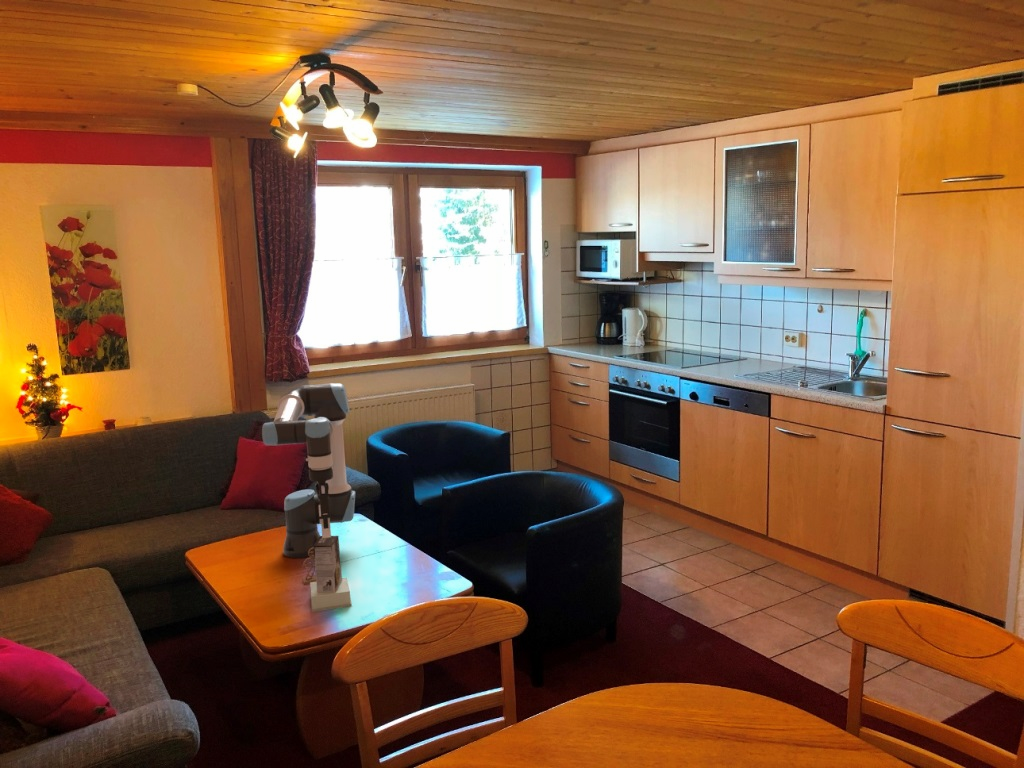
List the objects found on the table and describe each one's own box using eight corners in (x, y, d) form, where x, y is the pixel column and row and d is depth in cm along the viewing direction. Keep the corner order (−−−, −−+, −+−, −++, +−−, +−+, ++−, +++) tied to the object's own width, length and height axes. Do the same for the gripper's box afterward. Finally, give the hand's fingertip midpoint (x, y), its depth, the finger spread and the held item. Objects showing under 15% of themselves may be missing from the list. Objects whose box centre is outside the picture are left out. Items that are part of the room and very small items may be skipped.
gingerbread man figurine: (304, 585, 283) (301, 552, 281) (301, 581, 286) (298, 548, 284) (329, 579, 287) (327, 546, 285) (326, 575, 290) (323, 543, 288)
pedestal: (310, 596, 273) (309, 582, 272) (348, 590, 276) (347, 576, 275) (311, 611, 261) (310, 597, 260) (351, 606, 264) (350, 591, 263)
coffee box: (323, 581, 272) (319, 535, 269) (342, 581, 272) (339, 534, 269) (316, 593, 263) (312, 545, 260) (336, 592, 263) (332, 544, 260)
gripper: (306, 458, 272) (311, 519, 276) (310, 478, 248) (315, 545, 252) (329, 456, 274) (334, 516, 278) (335, 476, 250) (340, 541, 254)
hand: (325, 530), depth 265 cm, fingers open, 13 cm apart
